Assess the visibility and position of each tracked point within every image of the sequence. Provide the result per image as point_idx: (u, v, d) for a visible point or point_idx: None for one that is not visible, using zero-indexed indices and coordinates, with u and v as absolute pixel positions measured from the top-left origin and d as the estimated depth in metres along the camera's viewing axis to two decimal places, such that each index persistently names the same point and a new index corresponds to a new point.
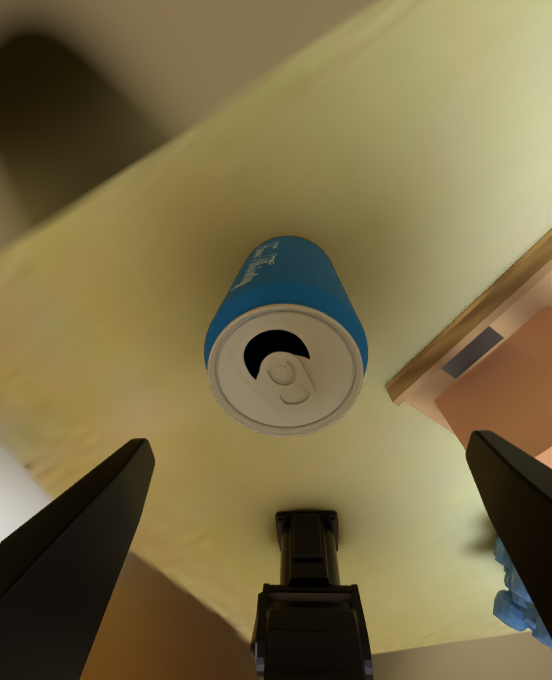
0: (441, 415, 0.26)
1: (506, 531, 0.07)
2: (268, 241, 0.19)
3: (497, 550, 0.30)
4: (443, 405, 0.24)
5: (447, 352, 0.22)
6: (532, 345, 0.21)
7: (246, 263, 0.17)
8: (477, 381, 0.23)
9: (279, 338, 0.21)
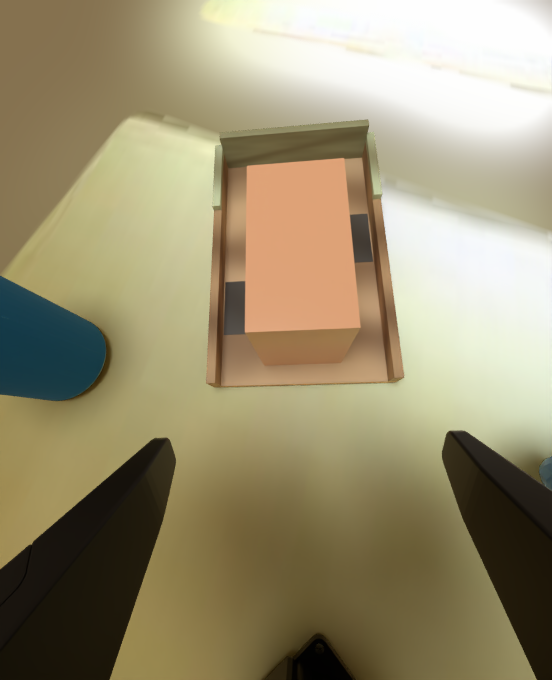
0: (286, 373, 0.22)
1: (477, 531, 0.07)
2: None
3: None
4: None
5: (210, 310, 0.23)
6: None
7: None
8: None
9: None
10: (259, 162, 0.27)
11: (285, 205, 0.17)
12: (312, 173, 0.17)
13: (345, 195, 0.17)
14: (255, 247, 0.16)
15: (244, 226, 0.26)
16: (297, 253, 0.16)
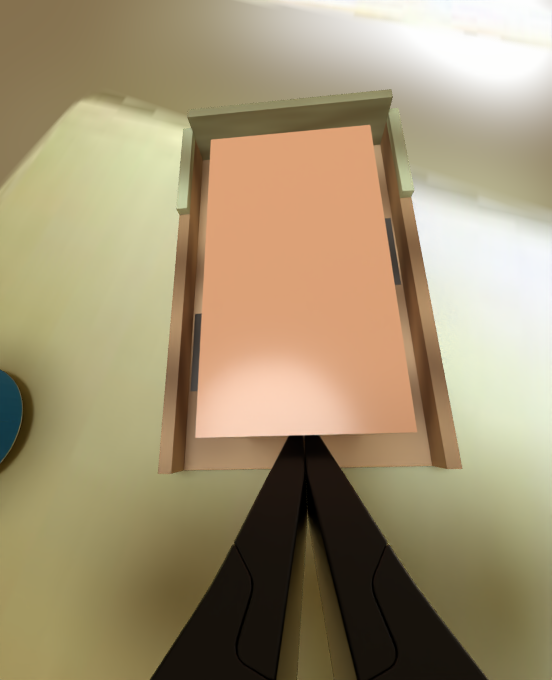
0: None
1: (311, 531, 0.07)
2: None
3: None
4: None
5: (168, 358, 0.16)
6: None
7: None
8: None
9: None
10: None
11: (272, 202, 0.10)
12: (318, 149, 0.10)
13: (374, 184, 0.10)
14: (220, 274, 0.09)
15: None
16: (293, 284, 0.09)
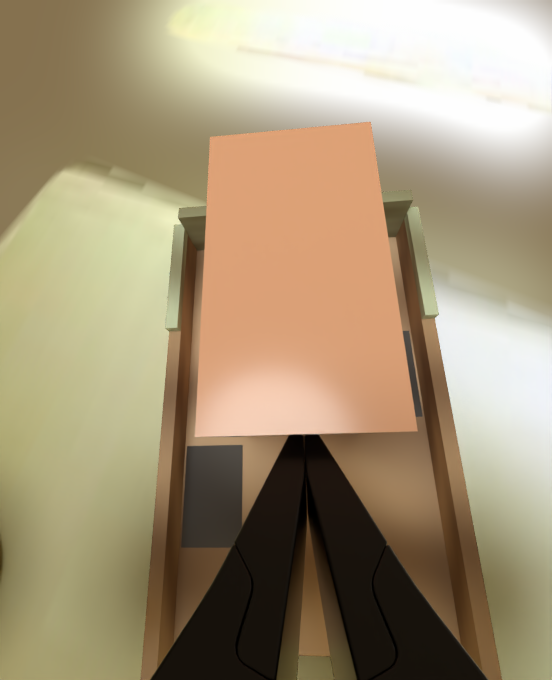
0: None
1: (311, 531, 0.07)
2: None
3: None
4: None
5: (154, 520, 0.13)
6: None
7: None
8: None
9: None
10: None
11: (272, 200, 0.10)
12: (318, 147, 0.10)
13: (375, 181, 0.10)
14: (219, 272, 0.09)
15: None
16: (293, 283, 0.09)
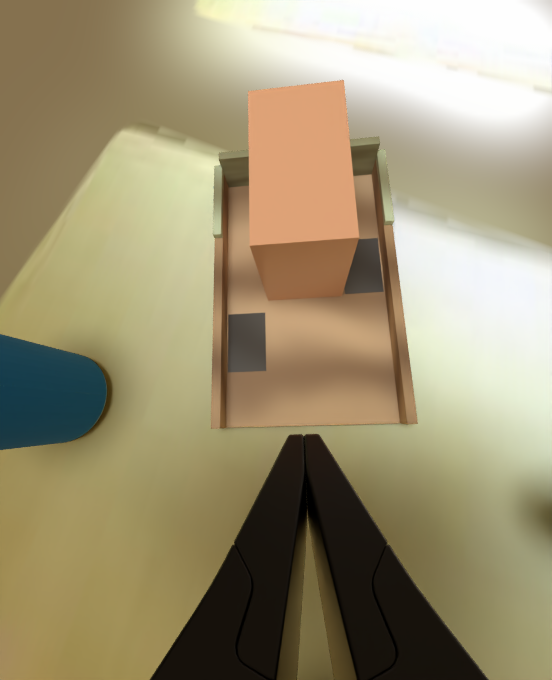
0: (294, 414, 0.22)
1: (311, 531, 0.07)
2: None
3: None
4: None
5: (213, 349, 0.22)
6: None
7: None
8: None
9: None
10: None
11: (286, 127, 0.17)
12: (313, 96, 0.18)
13: (344, 115, 0.17)
14: (258, 167, 0.17)
15: (247, 252, 0.25)
16: (298, 171, 0.17)
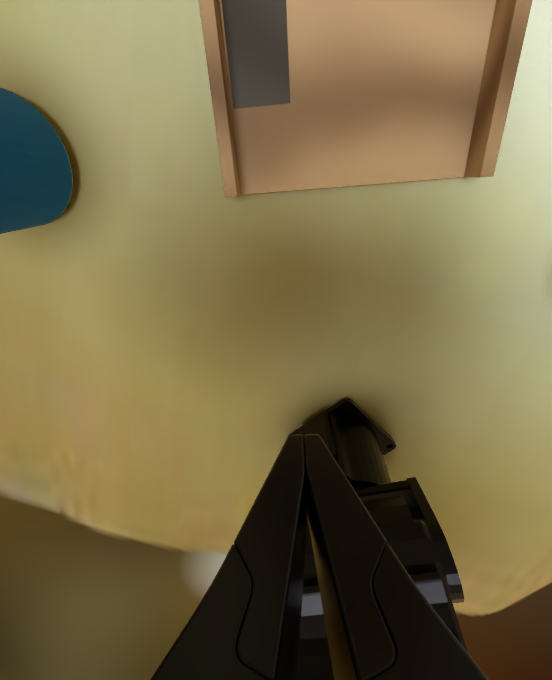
0: (329, 172, 0.17)
1: (311, 531, 0.07)
2: None
3: None
4: None
5: (207, 62, 0.13)
6: None
7: None
8: None
9: None
10: None
11: None
12: None
13: None
14: None
15: None
16: None
